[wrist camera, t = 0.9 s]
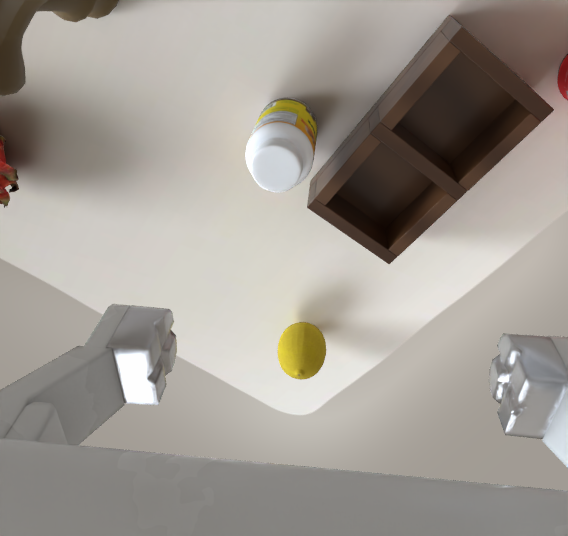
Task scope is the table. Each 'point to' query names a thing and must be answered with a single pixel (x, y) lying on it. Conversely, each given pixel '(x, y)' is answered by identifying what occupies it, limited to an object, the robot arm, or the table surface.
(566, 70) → the beverage can
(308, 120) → the supplement bottle
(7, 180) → the dragon fruit
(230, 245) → the table surface
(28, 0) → the kendama
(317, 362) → the lemon
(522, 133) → the divided wooden box
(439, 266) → the table surface
